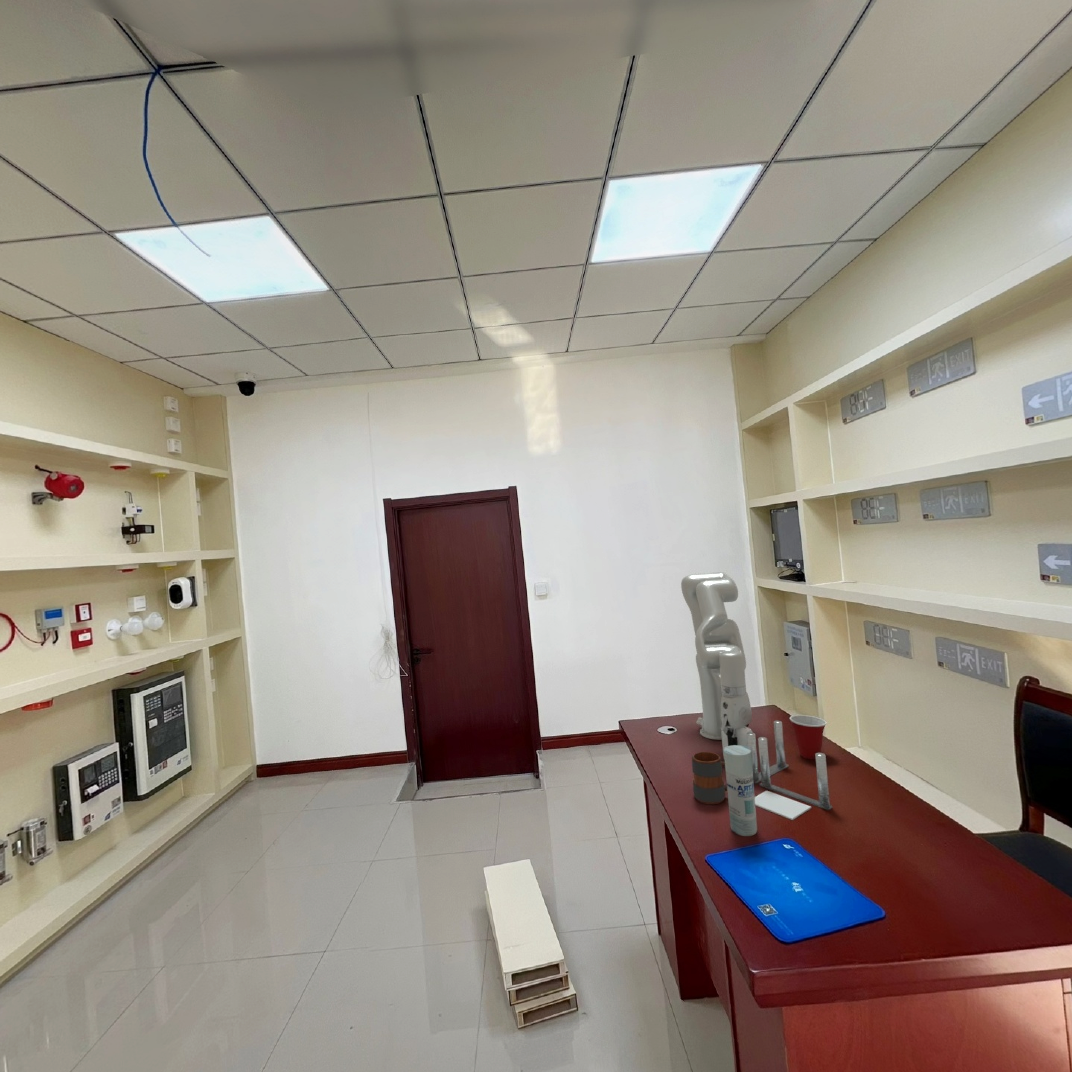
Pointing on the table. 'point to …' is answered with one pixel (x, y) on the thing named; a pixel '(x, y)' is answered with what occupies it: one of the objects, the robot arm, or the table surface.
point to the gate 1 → (779, 752)
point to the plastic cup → (808, 734)
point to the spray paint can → (740, 790)
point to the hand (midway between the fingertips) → (738, 745)
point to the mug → (708, 778)
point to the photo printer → (741, 737)
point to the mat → (780, 805)
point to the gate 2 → (766, 783)
